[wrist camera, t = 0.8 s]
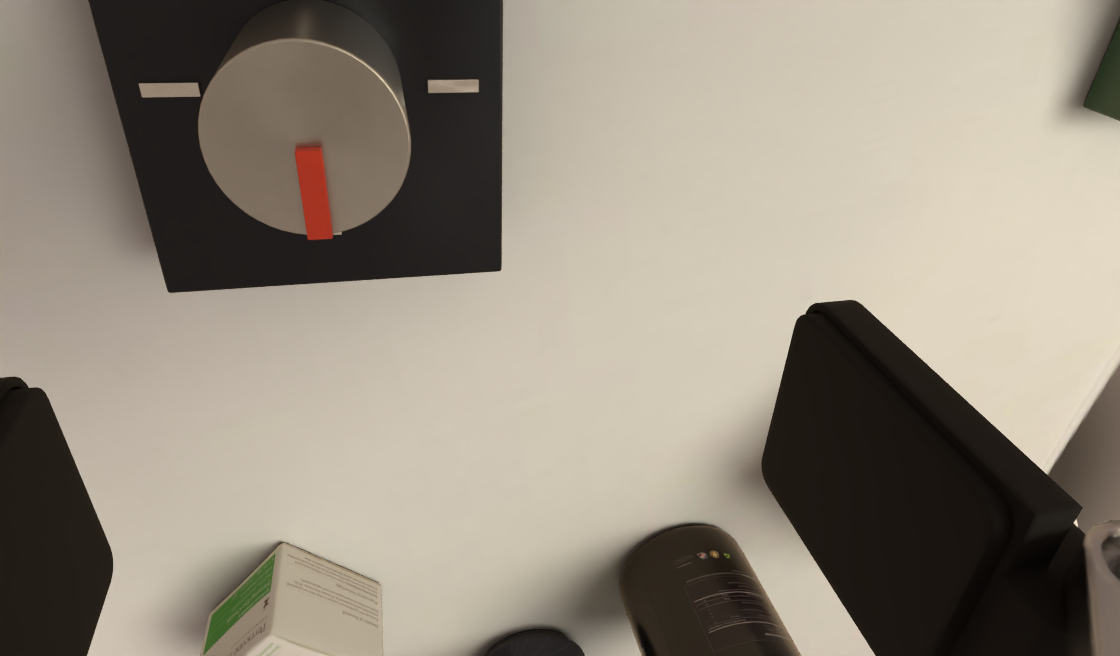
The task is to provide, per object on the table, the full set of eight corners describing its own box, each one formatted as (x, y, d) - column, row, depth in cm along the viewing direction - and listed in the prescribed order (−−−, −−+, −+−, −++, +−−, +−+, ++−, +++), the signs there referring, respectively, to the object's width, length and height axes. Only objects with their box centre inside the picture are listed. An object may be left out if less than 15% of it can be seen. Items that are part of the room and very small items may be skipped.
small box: (280, 536, 32) (269, 635, 28) (386, 582, 35) (389, 677, 31) (203, 612, 34) (182, 716, 30) (311, 649, 37) (305, 748, 33)
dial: (211, -3, 18) (172, 41, 14) (395, -1, 19) (405, 41, 15) (244, 168, 21) (218, 247, 17) (406, 163, 22) (417, 236, 18)
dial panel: (75, -197, 18) (28, -201, 16) (486, -172, 20) (505, -173, 18) (186, 248, 25) (166, 297, 22) (488, 231, 27) (502, 274, 24)
